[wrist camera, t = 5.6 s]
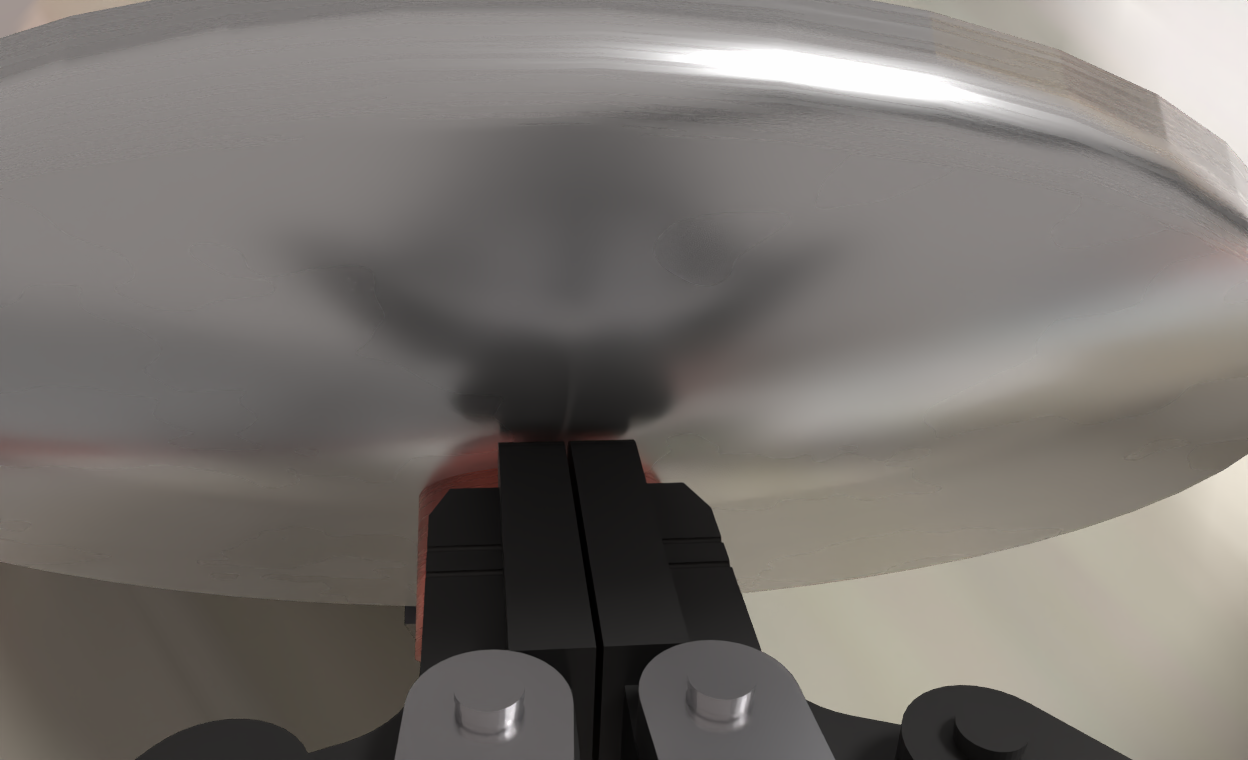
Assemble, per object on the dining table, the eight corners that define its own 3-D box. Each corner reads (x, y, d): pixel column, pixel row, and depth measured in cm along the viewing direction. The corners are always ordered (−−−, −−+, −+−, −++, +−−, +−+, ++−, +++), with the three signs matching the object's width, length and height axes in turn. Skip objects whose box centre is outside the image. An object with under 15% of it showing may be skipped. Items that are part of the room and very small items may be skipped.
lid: (-1019, -97, 6) (-1333, 473, 5) (1829, 16, 8) (2030, 449, 7) (75, 553, 23) (54, 723, 22) (940, 540, 25) (961, 696, 24)
